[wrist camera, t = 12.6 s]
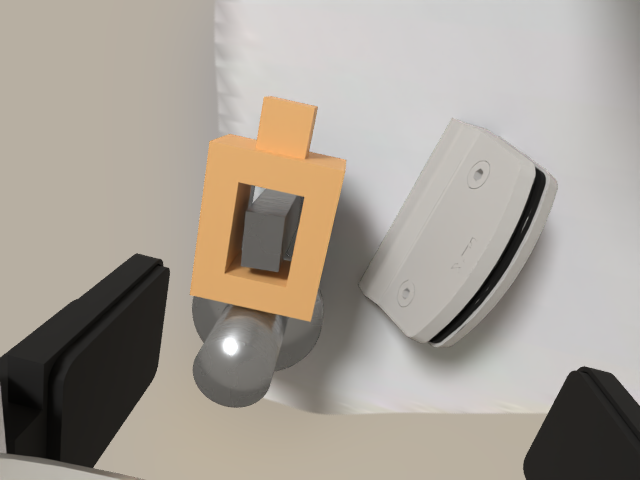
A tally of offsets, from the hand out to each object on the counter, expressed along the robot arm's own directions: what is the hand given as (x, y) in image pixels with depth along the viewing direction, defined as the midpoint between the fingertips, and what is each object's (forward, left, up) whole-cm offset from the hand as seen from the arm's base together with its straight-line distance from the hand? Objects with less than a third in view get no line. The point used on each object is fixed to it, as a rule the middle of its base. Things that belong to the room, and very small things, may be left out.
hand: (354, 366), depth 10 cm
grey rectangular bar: (+4, -5, -28) cm, 29 cm away
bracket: (+2, -5, -22) cm, 22 cm away
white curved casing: (+3, +8, -29) cm, 30 cm away
